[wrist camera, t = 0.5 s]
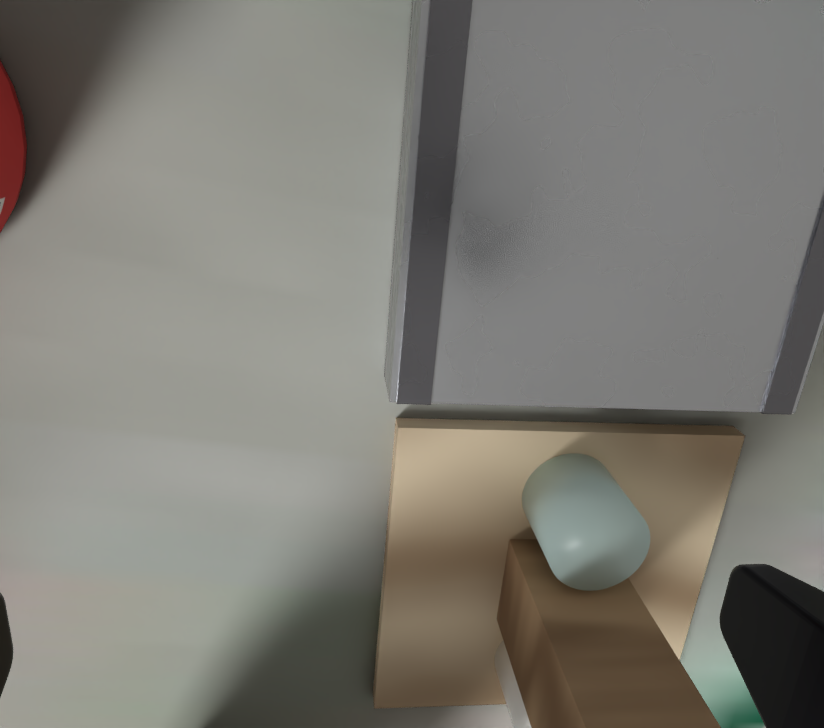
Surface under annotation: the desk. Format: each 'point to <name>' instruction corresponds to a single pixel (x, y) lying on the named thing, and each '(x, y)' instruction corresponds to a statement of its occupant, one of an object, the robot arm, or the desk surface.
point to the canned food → (10, 147)
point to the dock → (610, 205)
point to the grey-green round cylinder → (584, 522)
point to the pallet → (489, 508)
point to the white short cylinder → (510, 688)
